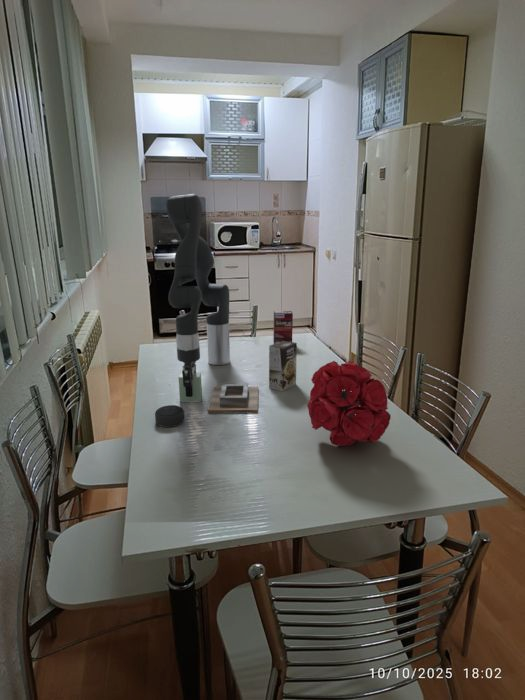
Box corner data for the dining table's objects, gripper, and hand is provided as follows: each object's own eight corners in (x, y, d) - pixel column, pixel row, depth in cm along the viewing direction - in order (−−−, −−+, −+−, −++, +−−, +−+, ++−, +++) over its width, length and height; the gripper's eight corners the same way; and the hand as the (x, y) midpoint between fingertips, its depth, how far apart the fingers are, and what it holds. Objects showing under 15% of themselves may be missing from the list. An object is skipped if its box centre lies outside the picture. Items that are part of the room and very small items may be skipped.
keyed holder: (214, 389, 172) (213, 380, 171) (258, 389, 172) (258, 380, 171) (207, 412, 153) (207, 402, 152) (257, 412, 153) (257, 402, 152)
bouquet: (293, 448, 144) (324, 445, 115) (289, 371, 149) (318, 350, 120) (360, 445, 148) (406, 442, 119) (354, 371, 153) (397, 350, 124)
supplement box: (274, 346, 222) (274, 313, 218) (273, 343, 227) (273, 311, 222) (292, 345, 223) (293, 312, 218) (291, 343, 228) (291, 310, 223)
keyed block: (182, 397, 165) (180, 373, 163) (202, 397, 165) (200, 373, 162) (180, 402, 161) (178, 377, 159) (200, 401, 161) (199, 377, 159)
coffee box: (282, 391, 169) (283, 348, 164) (268, 387, 173) (268, 345, 168) (297, 384, 176) (297, 342, 171) (282, 380, 180) (282, 339, 175)
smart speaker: (169, 431, 141) (168, 418, 140) (149, 423, 146) (148, 411, 145) (190, 420, 148) (190, 408, 147) (171, 413, 153) (170, 402, 152)
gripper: (180, 339, 164) (183, 385, 169) (172, 352, 151) (176, 401, 156) (202, 339, 164) (204, 384, 169) (196, 352, 151) (199, 400, 156)
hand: (190, 392), depth 162 cm, fingers open, 6 cm apart
